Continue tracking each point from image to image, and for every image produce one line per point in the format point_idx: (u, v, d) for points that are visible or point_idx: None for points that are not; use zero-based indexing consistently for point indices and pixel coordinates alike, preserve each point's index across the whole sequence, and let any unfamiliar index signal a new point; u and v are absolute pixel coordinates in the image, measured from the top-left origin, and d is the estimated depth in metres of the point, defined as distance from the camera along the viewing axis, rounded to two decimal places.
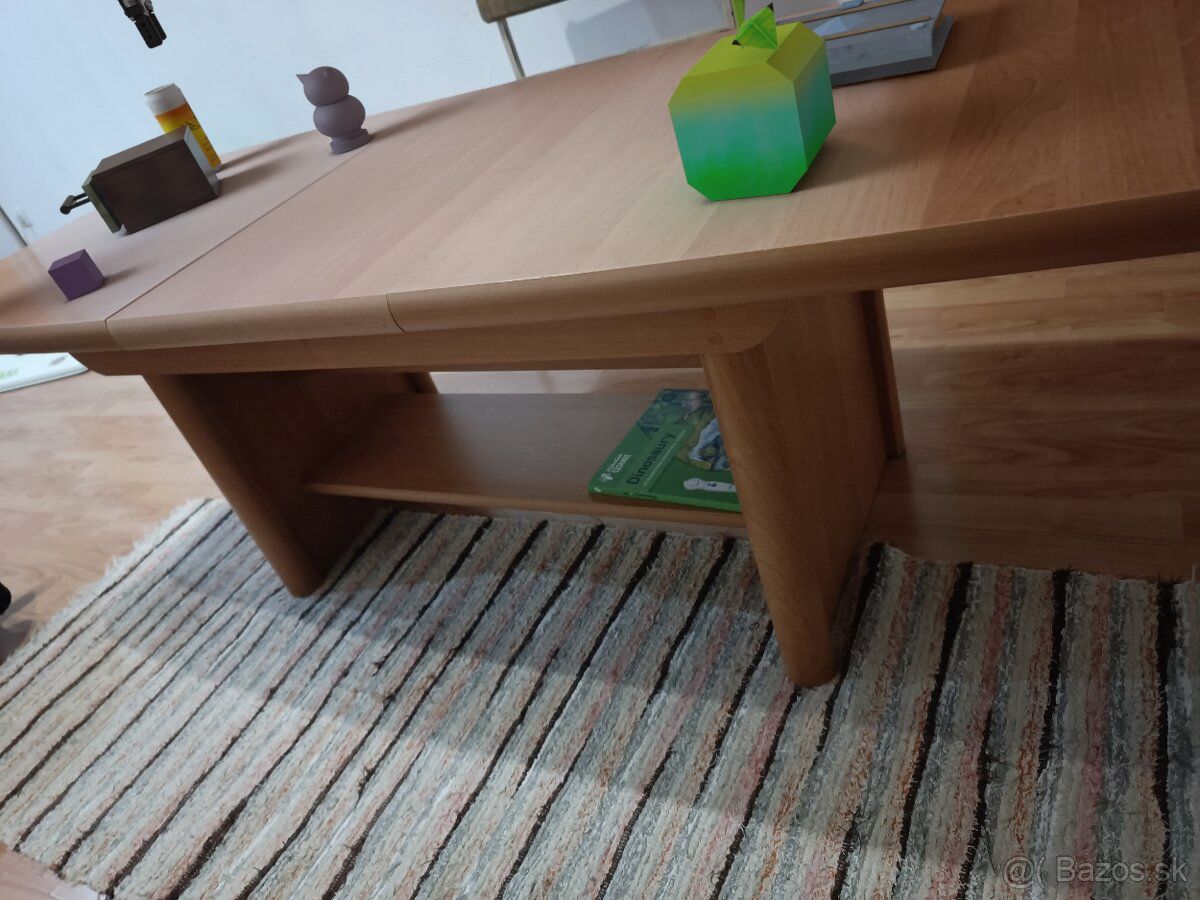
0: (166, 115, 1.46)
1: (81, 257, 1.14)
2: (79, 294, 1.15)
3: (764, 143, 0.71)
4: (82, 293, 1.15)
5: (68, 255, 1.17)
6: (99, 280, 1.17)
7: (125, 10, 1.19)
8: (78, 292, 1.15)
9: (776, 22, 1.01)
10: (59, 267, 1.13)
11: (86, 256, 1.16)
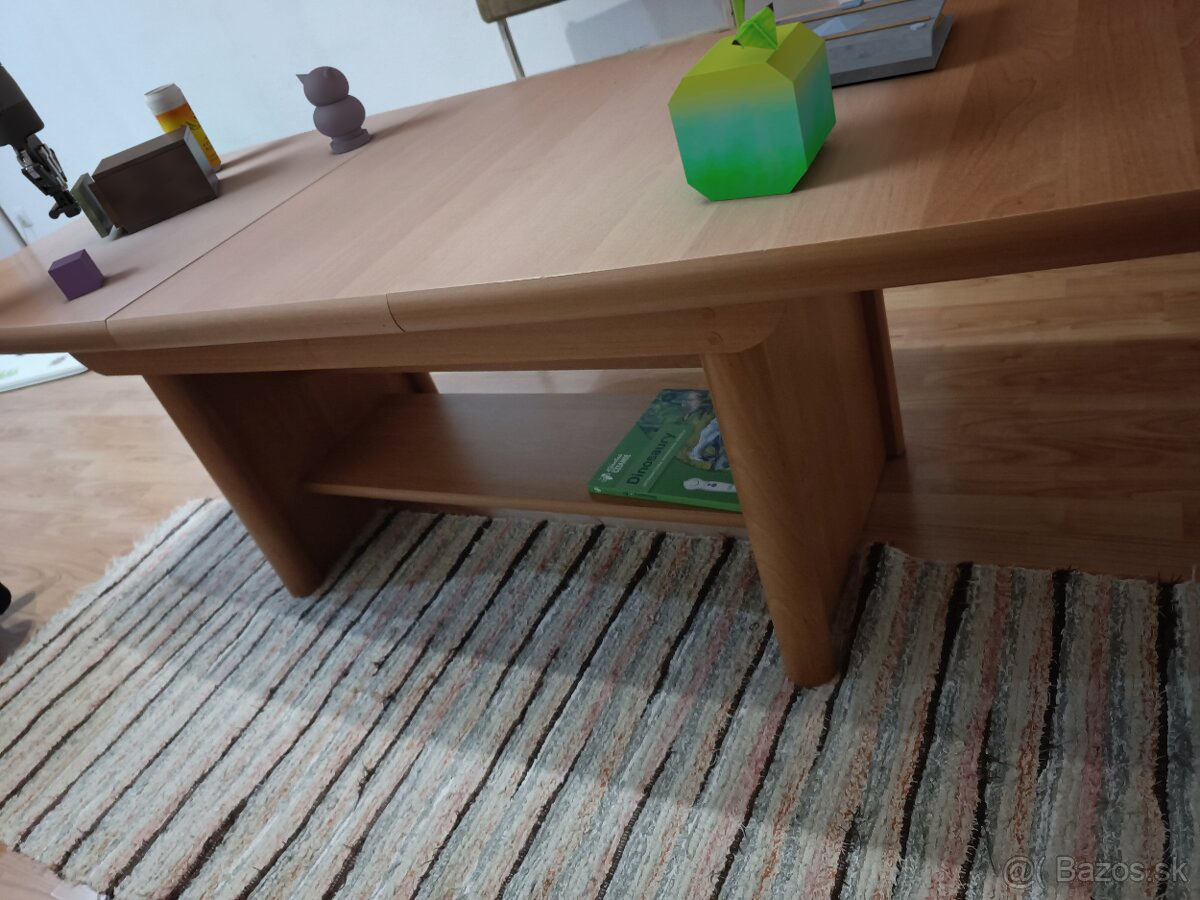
0: (166, 115, 1.46)
1: (81, 257, 1.14)
2: (79, 294, 1.15)
3: (764, 143, 0.71)
4: (82, 293, 1.15)
5: (68, 255, 1.17)
6: (99, 280, 1.17)
7: (45, 193, 1.32)
8: (78, 292, 1.15)
9: (776, 22, 1.01)
10: (59, 267, 1.13)
11: (86, 256, 1.16)
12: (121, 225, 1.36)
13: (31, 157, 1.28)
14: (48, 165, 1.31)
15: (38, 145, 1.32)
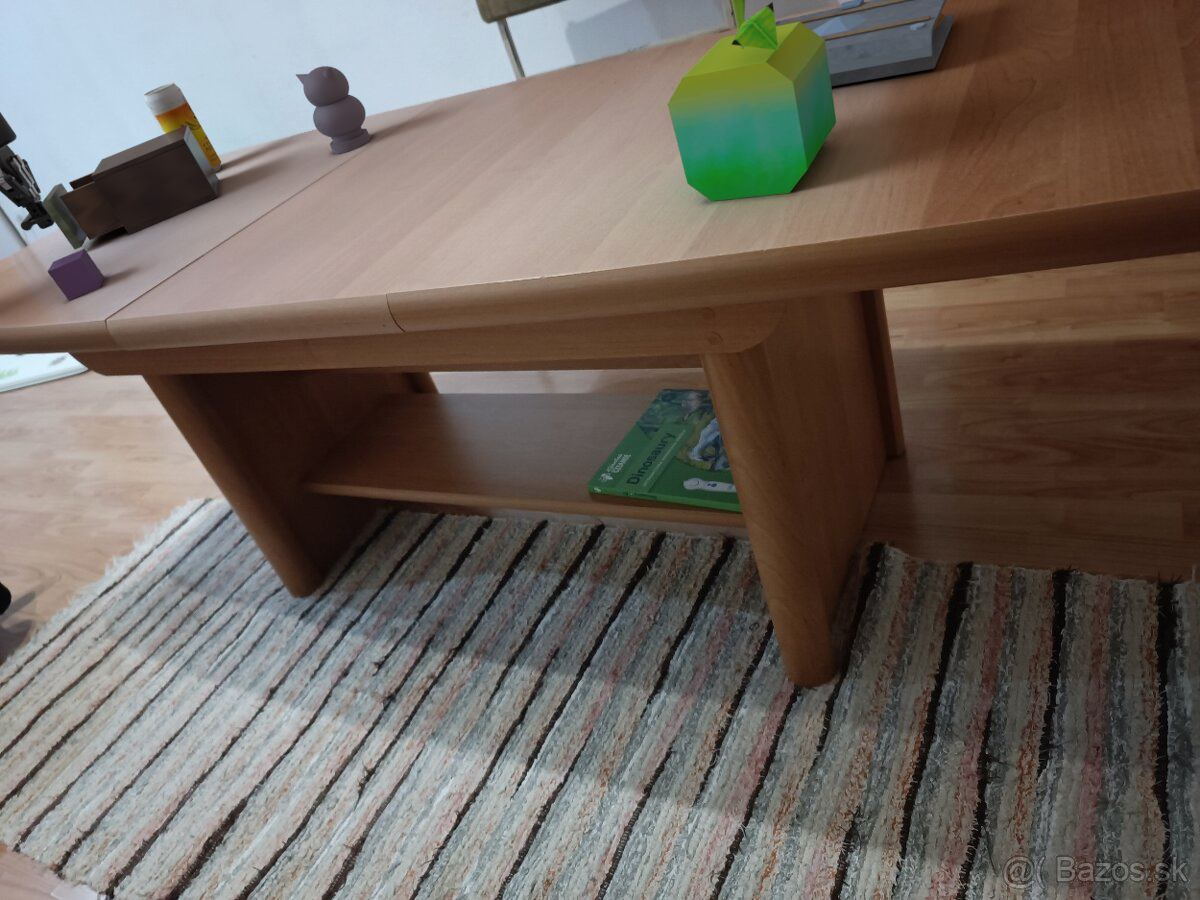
0: (166, 115, 1.46)
1: (81, 257, 1.14)
2: (79, 294, 1.15)
3: (764, 143, 0.71)
4: (82, 293, 1.15)
5: (68, 255, 1.17)
6: (99, 280, 1.17)
7: (17, 204, 1.31)
8: (78, 292, 1.15)
9: (776, 22, 1.01)
10: (59, 267, 1.13)
11: (86, 256, 1.16)
12: (94, 236, 1.35)
13: (2, 168, 1.28)
14: (20, 176, 1.31)
15: (10, 156, 1.31)
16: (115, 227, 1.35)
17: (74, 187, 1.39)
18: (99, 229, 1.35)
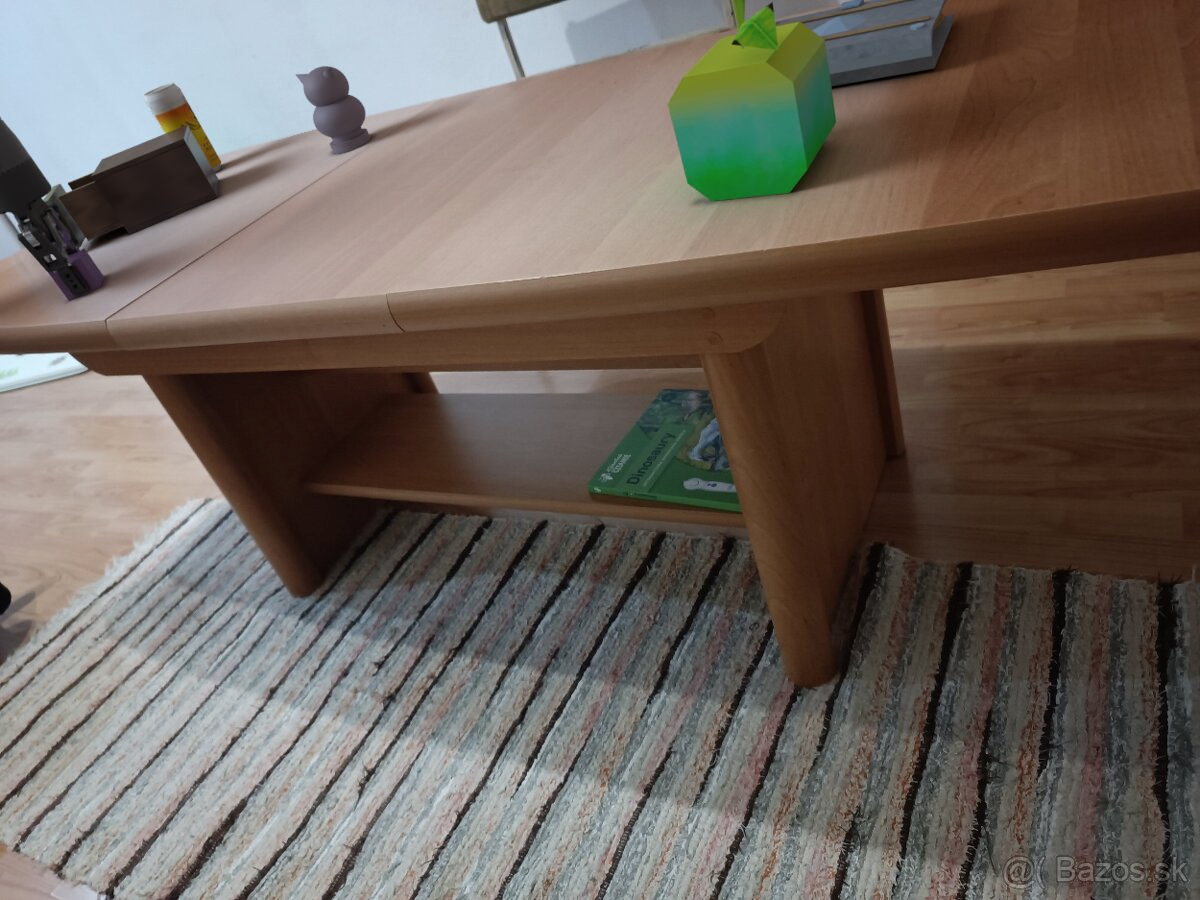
0: (166, 115, 1.46)
1: (81, 257, 1.14)
2: None
3: (764, 143, 0.71)
4: None
5: (68, 255, 1.17)
6: (99, 280, 1.17)
7: (46, 268, 1.10)
8: None
9: (776, 22, 1.01)
10: None
11: (86, 256, 1.16)
12: (93, 237, 1.35)
13: (33, 224, 1.08)
14: None
15: (44, 210, 1.12)
16: (114, 228, 1.35)
17: (73, 188, 1.39)
18: (98, 230, 1.35)
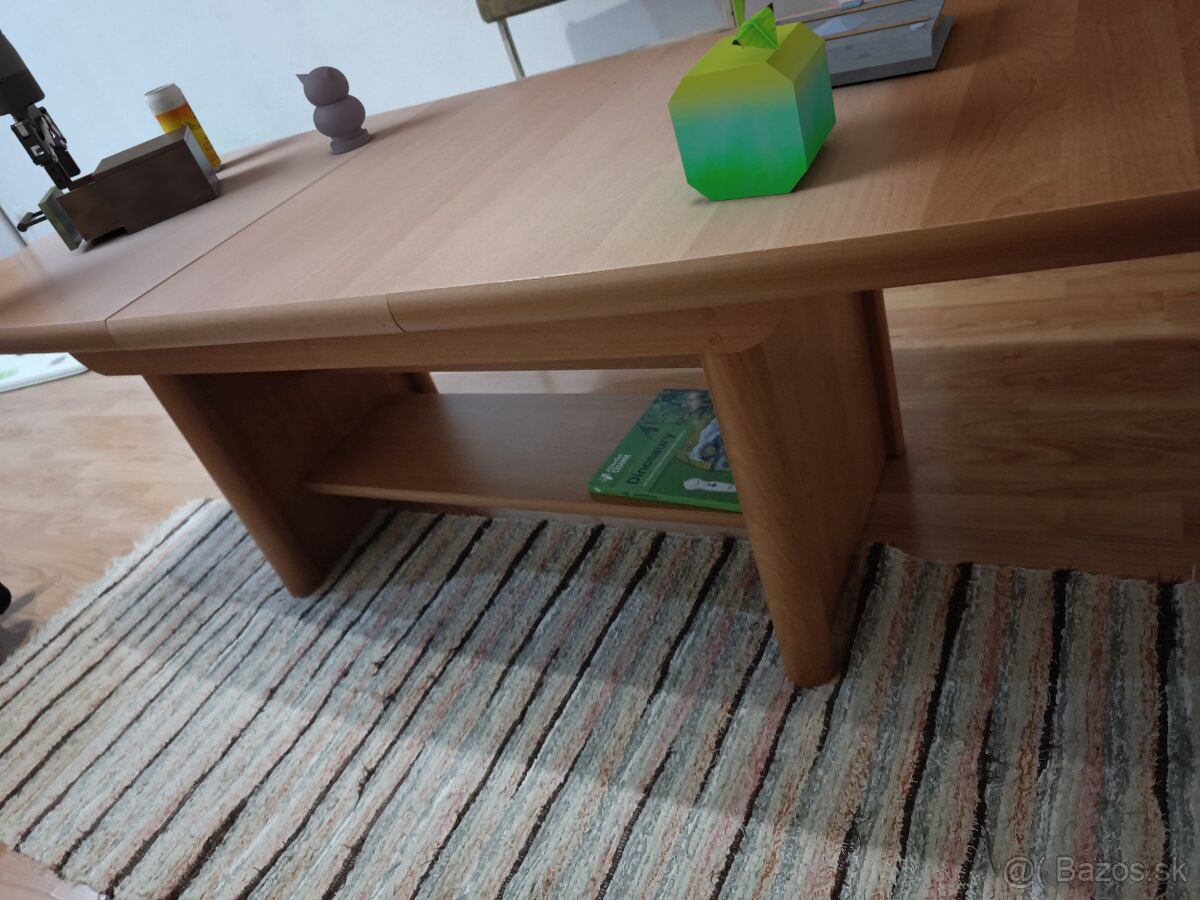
0: (166, 115, 1.46)
1: None
2: None
3: (764, 143, 0.71)
4: None
5: None
6: None
7: (33, 159, 1.26)
8: None
9: (776, 22, 1.01)
10: None
11: None
12: (90, 238, 1.35)
13: None
14: None
15: (38, 116, 1.30)
16: (111, 229, 1.35)
17: (70, 189, 1.39)
18: (95, 231, 1.35)
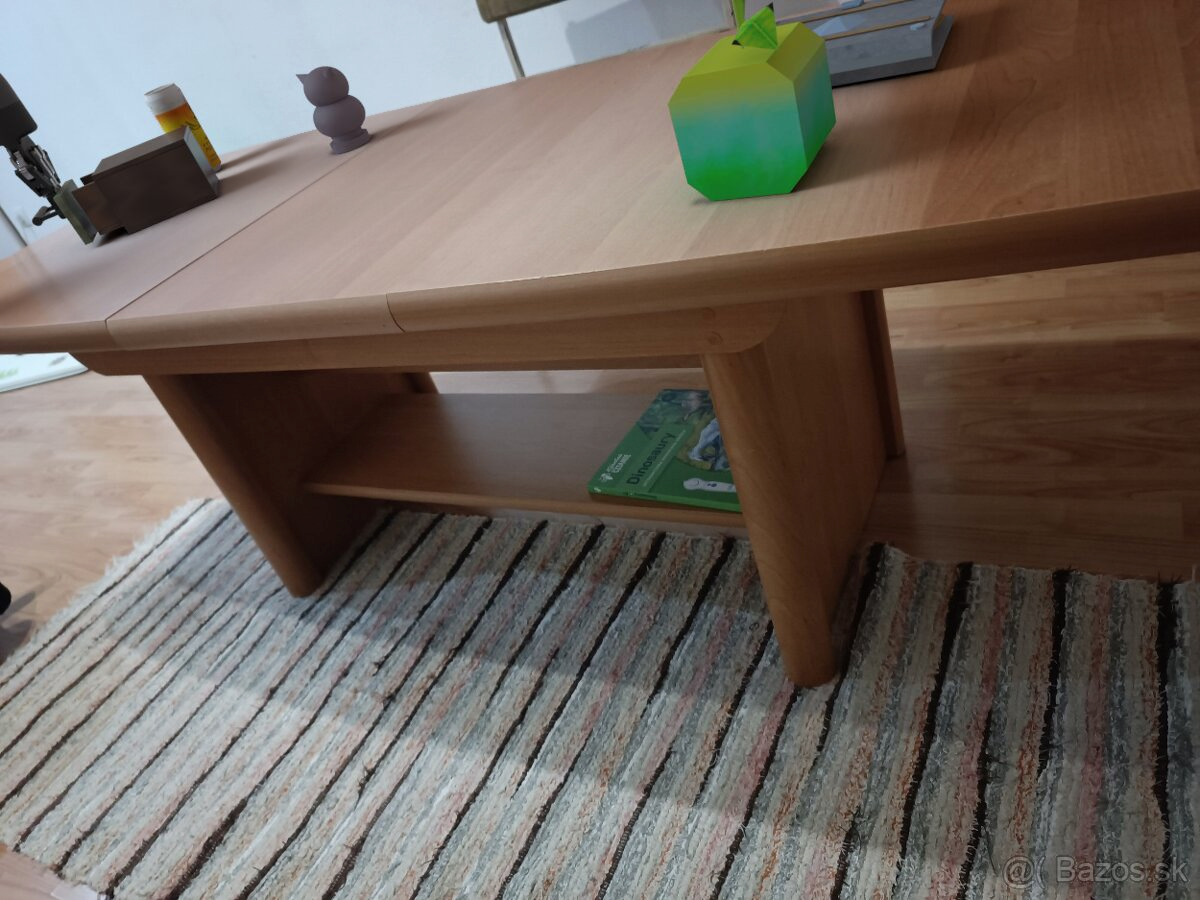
0: (166, 115, 1.46)
1: None
2: None
3: (764, 143, 0.71)
4: None
5: None
6: None
7: (38, 194, 1.32)
8: None
9: (776, 22, 1.01)
10: None
11: None
12: (105, 232, 1.35)
13: (24, 158, 1.28)
14: (41, 166, 1.31)
15: (31, 146, 1.32)
16: None
17: (85, 183, 1.39)
18: (110, 224, 1.35)
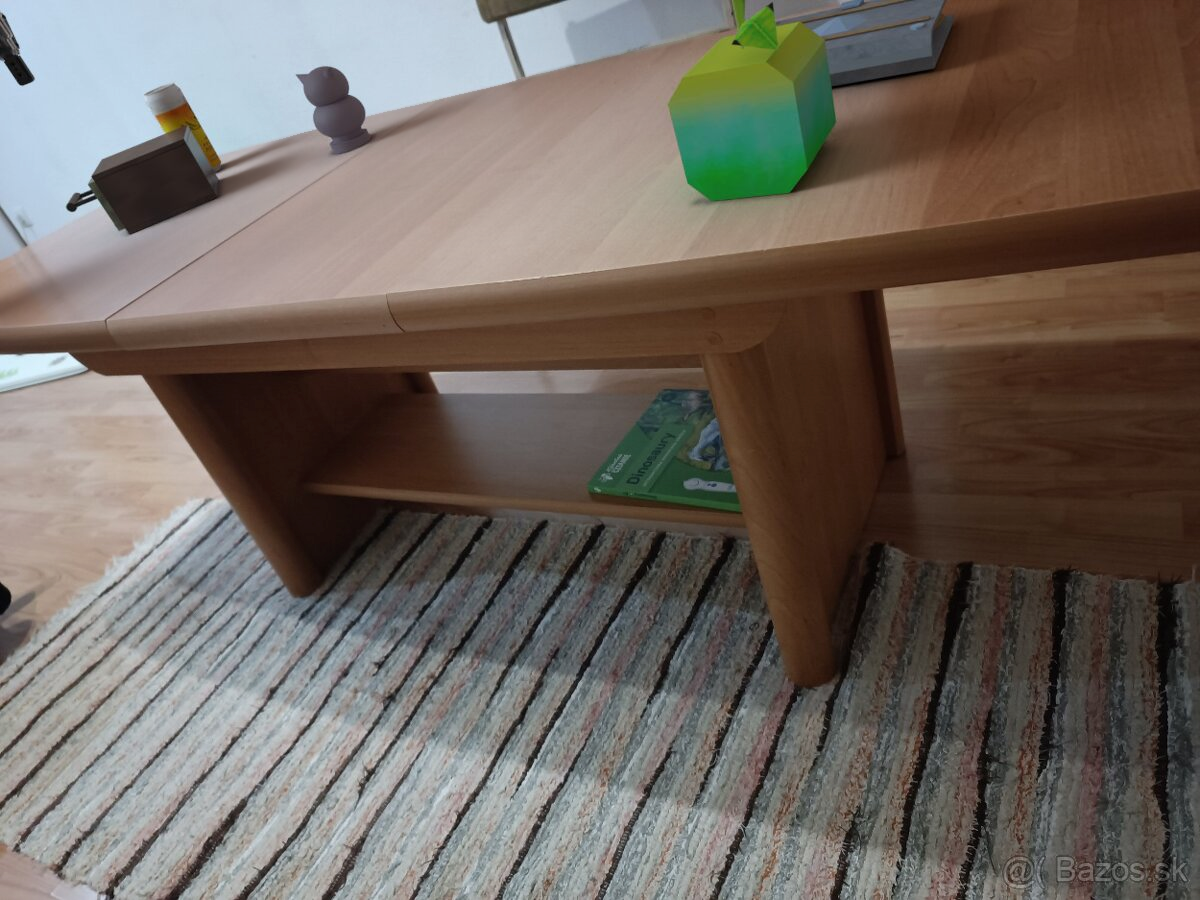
0: (166, 115, 1.46)
1: None
2: None
3: (764, 143, 0.71)
4: None
5: None
6: None
7: None
8: None
9: (776, 22, 1.01)
10: None
11: None
12: None
13: None
14: None
15: None
16: None
17: None
18: None
